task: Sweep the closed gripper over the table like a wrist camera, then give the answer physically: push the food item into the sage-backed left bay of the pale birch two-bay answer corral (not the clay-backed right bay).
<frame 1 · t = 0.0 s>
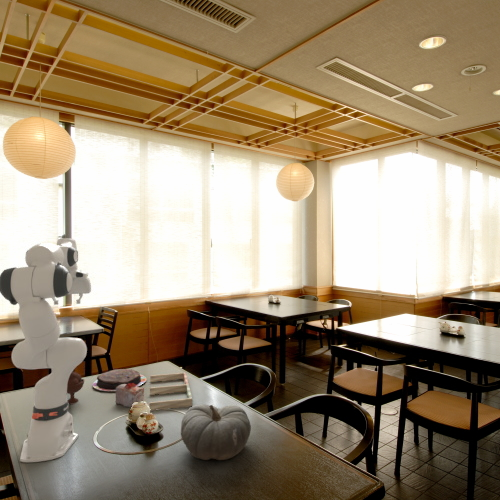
hand: (67, 304, 178), 48 cm above the table, fingers open, 8 cm apart
chocolate cake: (120, 384, 212), on the table
answer corral: (169, 393, 197), on the table
gourd: (216, 450, 141), on the table
food item: (129, 405, 183), on the table
ice cream bowl: (72, 402, 187), on the table
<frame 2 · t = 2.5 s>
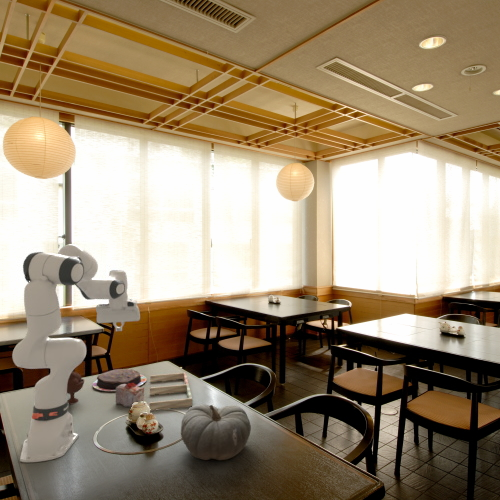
hand: (118, 330, 192), 33 cm above the table, fingers closed
nothing on the table moved.
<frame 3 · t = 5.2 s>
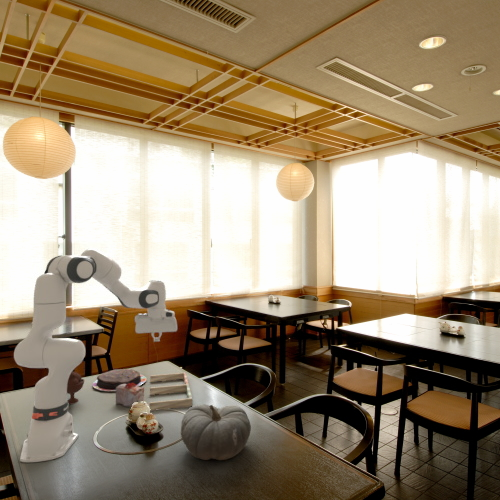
hand: (156, 341, 192), 27 cm above the table, fingers closed
nothing on the table moved.
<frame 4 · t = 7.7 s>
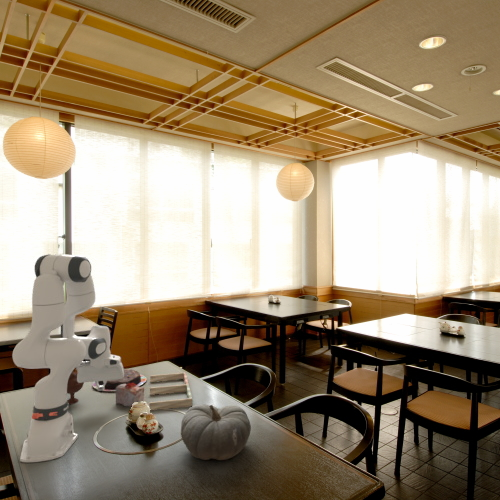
hand: (101, 389, 180), 8 cm above the table, fingers closed
nothing on the table moved.
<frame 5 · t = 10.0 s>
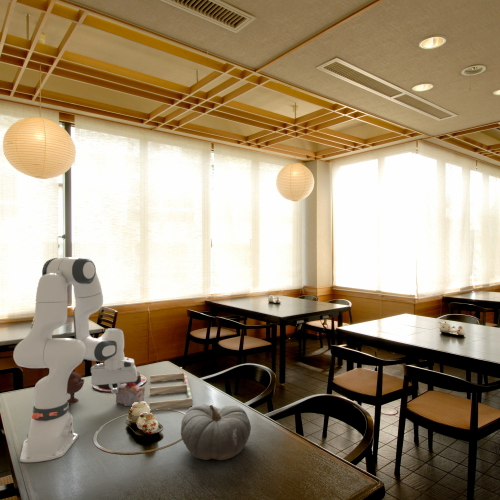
hand: (114, 392, 181), 6 cm above the table, fingers closed
food item: (130, 404, 183), on the table, touching gripper
everything else where it was.
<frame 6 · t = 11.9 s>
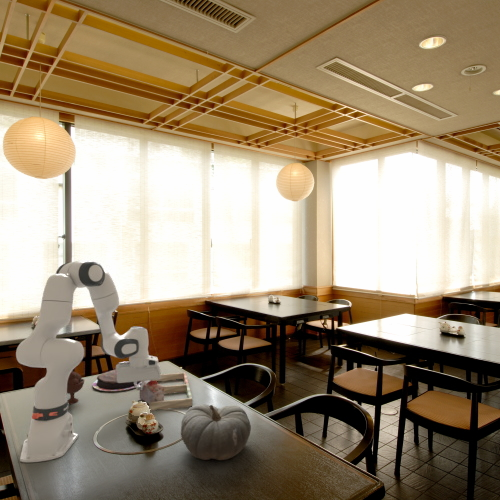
hand: (139, 390, 184), 6 cm above the table, fingers closed
food item: (151, 402, 186), on the table, touching gripper
everything else where it was.
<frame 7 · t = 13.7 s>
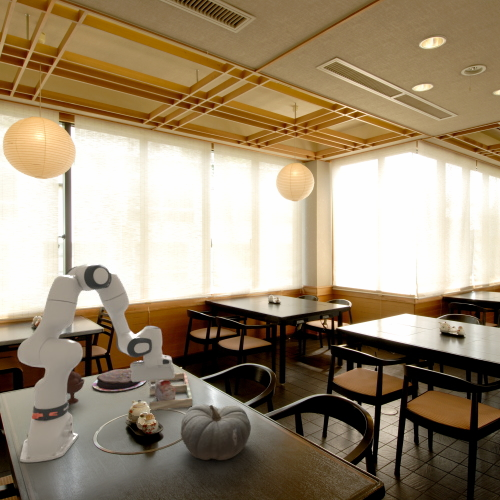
hand: (153, 388, 186), 6 cm above the table, fingers closed
food item: (164, 401, 186), on the table, touching gripper
everything else where it was.
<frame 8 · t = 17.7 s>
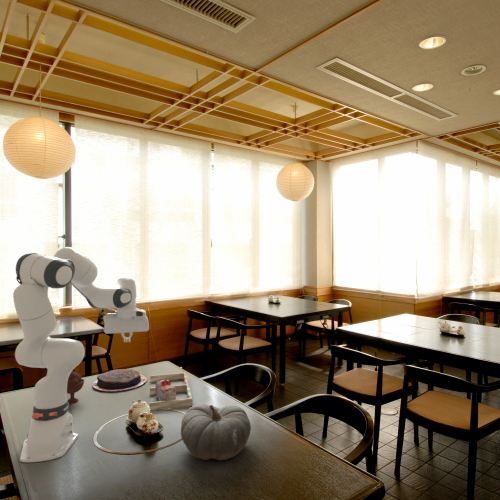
hand: (127, 341, 184), 29 cm above the table, fingers closed
food item: (165, 401, 186), on the table
everything else where it was.
at the end: food item inside the target area (2.9 cm from its centre), on the table; the gripper is holding nothing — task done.
